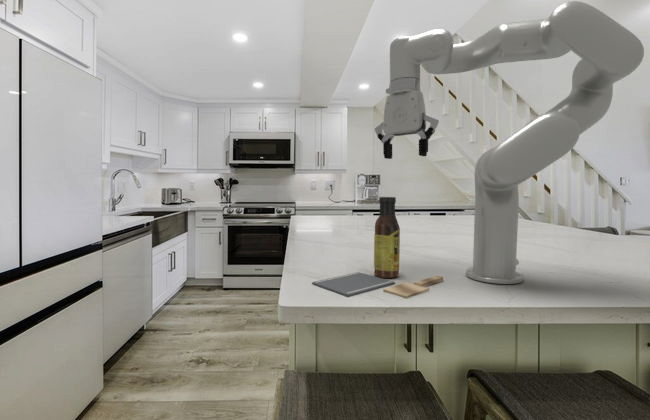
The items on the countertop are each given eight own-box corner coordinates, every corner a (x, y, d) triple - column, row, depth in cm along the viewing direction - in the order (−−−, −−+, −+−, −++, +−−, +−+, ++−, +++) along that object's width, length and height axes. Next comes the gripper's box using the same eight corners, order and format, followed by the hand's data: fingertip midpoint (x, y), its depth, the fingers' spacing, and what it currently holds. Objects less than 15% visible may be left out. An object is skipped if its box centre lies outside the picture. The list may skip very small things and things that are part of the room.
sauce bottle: (399, 279, 83) (400, 197, 82) (373, 278, 84) (374, 197, 83) (399, 273, 90) (400, 196, 88) (374, 271, 91) (375, 196, 89)
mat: (358, 273, 89) (358, 271, 89) (395, 283, 80) (395, 281, 80) (311, 283, 79) (312, 281, 79) (348, 296, 70) (348, 294, 70)
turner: (429, 277, 85) (429, 273, 85) (451, 283, 80) (451, 278, 80) (383, 291, 74) (383, 287, 74) (406, 299, 70) (406, 294, 70)
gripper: (368, 92, 91) (368, 158, 92) (431, 78, 80) (431, 153, 81) (382, 98, 97) (382, 160, 98) (444, 86, 86) (443, 155, 87)
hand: (404, 157), depth 89 cm, fingers open, 9 cm apart
